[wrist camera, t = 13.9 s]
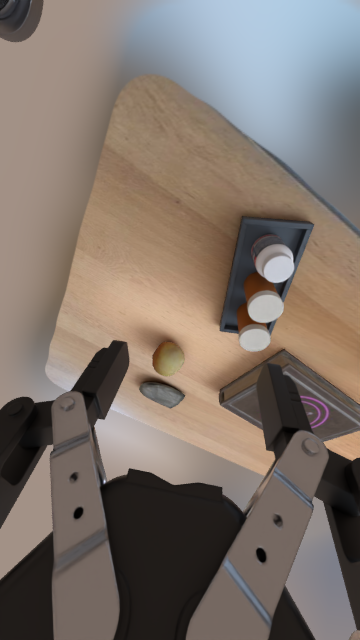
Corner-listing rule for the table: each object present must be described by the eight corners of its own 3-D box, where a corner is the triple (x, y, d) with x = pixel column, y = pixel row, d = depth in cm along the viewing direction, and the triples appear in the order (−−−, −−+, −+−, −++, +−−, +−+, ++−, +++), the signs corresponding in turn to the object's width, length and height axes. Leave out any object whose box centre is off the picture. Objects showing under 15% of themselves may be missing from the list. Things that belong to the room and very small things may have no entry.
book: (363, 407, 56) (374, 426, 52) (291, 434, 68) (295, 450, 64) (283, 348, 48) (289, 365, 44) (218, 390, 61) (218, 406, 57)
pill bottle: (244, 247, 36) (251, 266, 29) (273, 226, 34) (288, 242, 27) (260, 270, 38) (270, 293, 31) (288, 252, 36) (306, 272, 29)
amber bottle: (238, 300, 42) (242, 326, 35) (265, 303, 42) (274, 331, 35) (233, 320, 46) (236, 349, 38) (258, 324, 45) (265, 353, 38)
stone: (187, 392, 64) (185, 401, 61) (170, 405, 69) (168, 414, 66) (150, 372, 61) (147, 381, 58) (136, 386, 66) (132, 395, 63)
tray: (241, 216, 34) (243, 218, 33) (310, 221, 33) (314, 224, 32) (219, 325, 47) (219, 331, 46) (267, 332, 46) (269, 338, 45)
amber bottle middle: (246, 269, 39) (252, 292, 31) (275, 272, 38) (288, 296, 31) (240, 294, 42) (244, 320, 34) (267, 297, 41) (277, 324, 34)
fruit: (169, 362, 57) (163, 386, 51) (150, 341, 54) (141, 364, 47) (193, 353, 54) (189, 378, 47) (174, 330, 50) (168, 354, 44)
